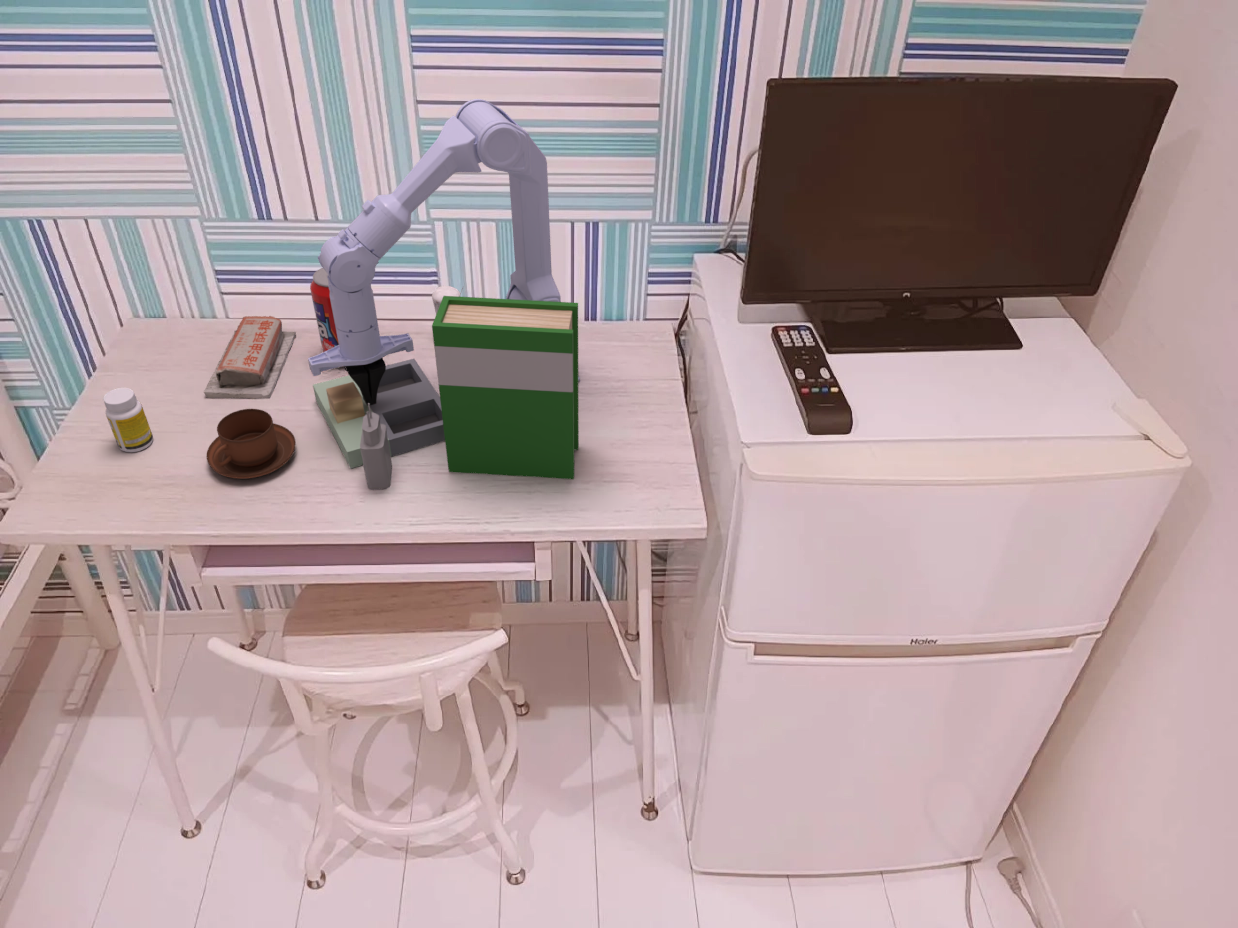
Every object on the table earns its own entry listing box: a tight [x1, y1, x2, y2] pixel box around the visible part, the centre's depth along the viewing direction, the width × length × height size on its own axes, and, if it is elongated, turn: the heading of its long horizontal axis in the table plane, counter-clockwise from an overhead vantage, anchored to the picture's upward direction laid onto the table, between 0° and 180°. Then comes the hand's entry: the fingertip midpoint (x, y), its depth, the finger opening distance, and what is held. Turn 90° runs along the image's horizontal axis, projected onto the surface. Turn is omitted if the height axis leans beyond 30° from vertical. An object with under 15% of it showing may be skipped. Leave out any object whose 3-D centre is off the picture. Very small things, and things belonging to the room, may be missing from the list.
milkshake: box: [431, 285, 464, 315], centre depth 162 cm, size 4×5×10 cm
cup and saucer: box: [206, 408, 297, 480], centre depth 138 cm, size 12×12×6 cm
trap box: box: [312, 358, 445, 469], centre depth 147 cm, size 16×18×3 cm
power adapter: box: [360, 403, 393, 491], centre depth 134 cm, size 3×5×12 cm, turn 6°
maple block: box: [326, 382, 365, 423], centre depth 142 cm, size 4×4×4 cm
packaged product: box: [203, 315, 297, 399], centre depth 156 cm, size 18×5×10 cm
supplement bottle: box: [102, 387, 154, 453], centre depth 139 cm, size 5×5×8 cm
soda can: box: [310, 267, 339, 353], centre depth 155 cm, size 8×8×15 cm
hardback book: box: [431, 296, 580, 480], centre depth 133 cm, size 18×7×24 cm, turn 87°
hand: (369, 401), depth 144 cm, fingers closed
